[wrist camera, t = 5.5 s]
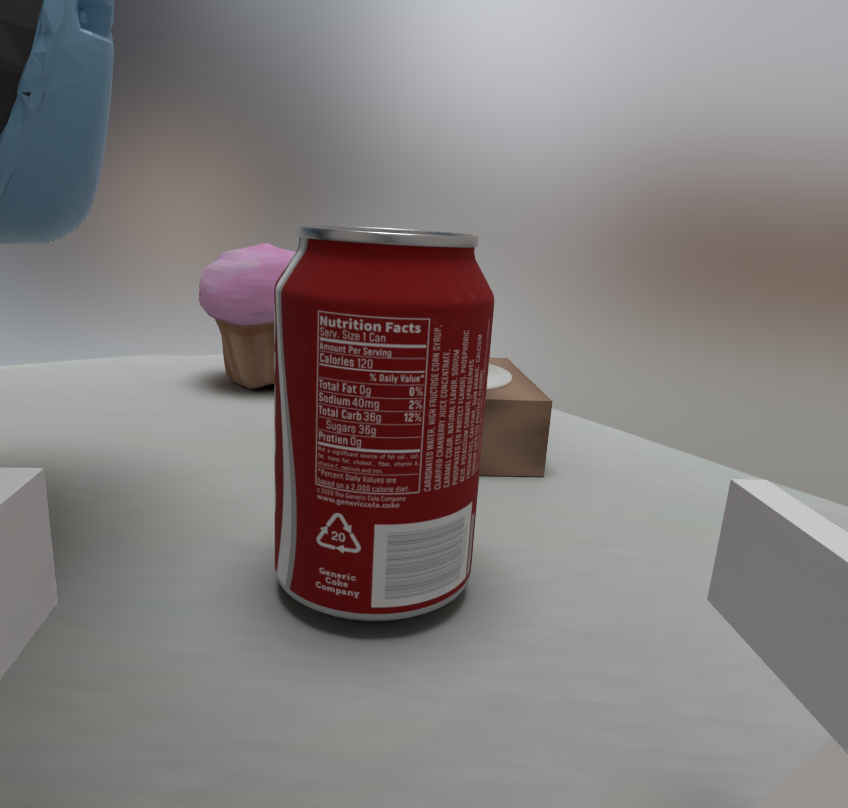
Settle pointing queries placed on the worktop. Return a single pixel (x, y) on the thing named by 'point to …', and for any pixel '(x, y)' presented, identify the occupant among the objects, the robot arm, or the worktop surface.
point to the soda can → (378, 418)
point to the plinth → (513, 423)
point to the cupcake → (245, 309)
